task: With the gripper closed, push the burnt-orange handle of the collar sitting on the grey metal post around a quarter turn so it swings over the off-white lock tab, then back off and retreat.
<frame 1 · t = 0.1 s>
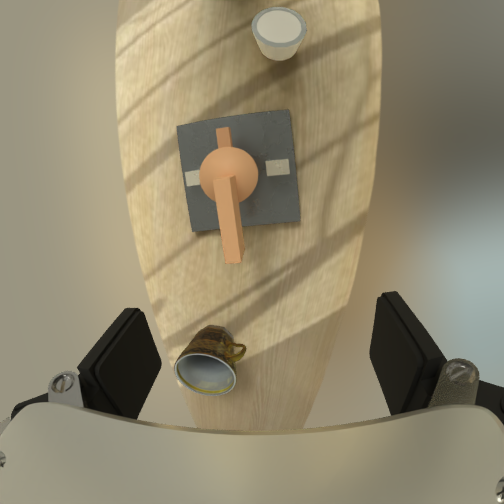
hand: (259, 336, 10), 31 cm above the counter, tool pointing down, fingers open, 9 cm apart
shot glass: (278, 45, 31), on the counter
post: (238, 170, 38), on the counter
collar: (228, 191, 28), point 11 cm above the counter, hinge at 0.0°
ceramic cup: (221, 334, 48), on the counter
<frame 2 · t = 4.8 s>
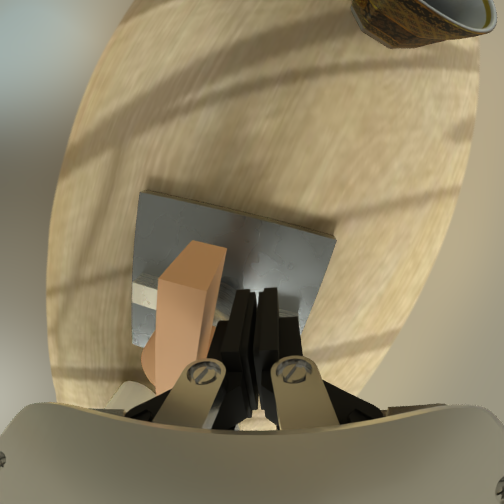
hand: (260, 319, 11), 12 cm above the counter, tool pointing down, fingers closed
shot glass: (140, 394, 31), on the counter
post: (218, 296, 24), on the counter
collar: (186, 371, 13), point 11 cm above the counter, hinge at 0.8°, touching gripper
ceramic cup: (372, 21, 15), on the counter
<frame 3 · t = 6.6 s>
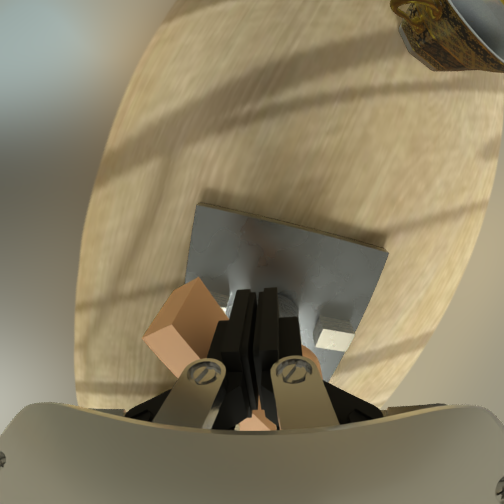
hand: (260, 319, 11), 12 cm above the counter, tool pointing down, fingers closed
post: (272, 308, 24), on the counter
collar: (257, 391, 14), point 11 cm above the counter, hinge at 43.6°, touching gripper
ceramic cup: (416, 42, 15), on the counter
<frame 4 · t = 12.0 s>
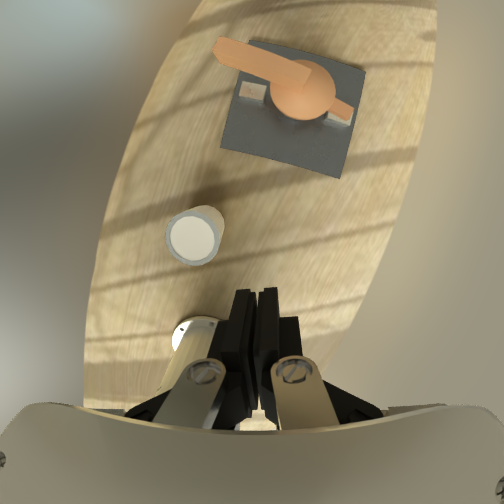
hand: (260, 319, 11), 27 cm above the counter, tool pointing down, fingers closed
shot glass: (205, 224, 39), on the counter
post: (295, 105, 32), on the counter
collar: (289, 78, 21), point 11 cm above the counter, hinge at 79.1°
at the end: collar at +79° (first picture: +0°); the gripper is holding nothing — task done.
